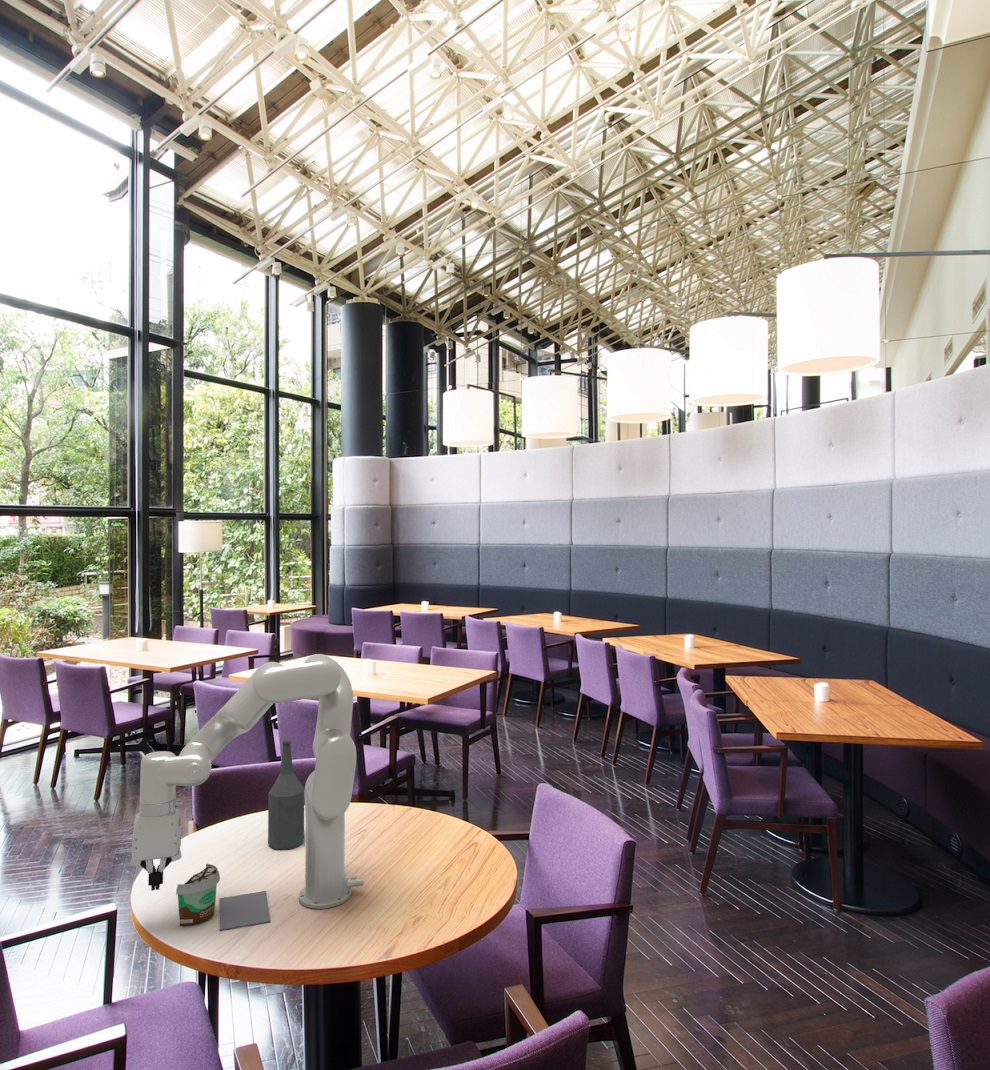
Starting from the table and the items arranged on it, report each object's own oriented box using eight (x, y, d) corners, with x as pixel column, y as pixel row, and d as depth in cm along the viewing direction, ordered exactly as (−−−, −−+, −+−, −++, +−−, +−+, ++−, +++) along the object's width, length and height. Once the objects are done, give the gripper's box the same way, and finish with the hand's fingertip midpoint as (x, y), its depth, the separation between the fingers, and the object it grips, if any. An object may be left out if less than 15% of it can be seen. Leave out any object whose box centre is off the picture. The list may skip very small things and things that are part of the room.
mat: (266, 892, 185) (266, 890, 185) (270, 922, 170) (270, 920, 170) (219, 899, 181) (219, 898, 181) (219, 931, 166) (219, 929, 166)
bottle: (262, 842, 216) (263, 740, 217) (293, 834, 223) (293, 734, 223) (278, 853, 208) (279, 747, 209) (309, 844, 215) (310, 741, 215)
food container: (199, 932, 165) (200, 887, 166) (175, 929, 167) (175, 885, 167) (230, 906, 177) (230, 864, 178) (207, 903, 179) (207, 862, 179)
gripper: (193, 798, 175) (191, 876, 175) (123, 805, 170) (121, 885, 169) (192, 809, 168) (190, 890, 168) (119, 816, 163) (117, 900, 162)
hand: (155, 887), depth 169 cm, fingers closed
